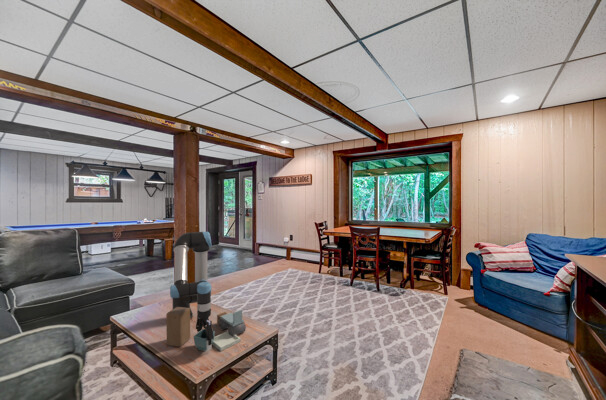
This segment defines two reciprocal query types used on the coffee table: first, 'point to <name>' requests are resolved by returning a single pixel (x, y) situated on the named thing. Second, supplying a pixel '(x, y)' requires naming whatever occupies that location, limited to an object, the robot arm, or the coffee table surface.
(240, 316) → the trolley
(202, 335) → the flower pot
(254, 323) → the coffee table surface
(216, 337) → the tray
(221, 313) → the block
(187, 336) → the wooden block
